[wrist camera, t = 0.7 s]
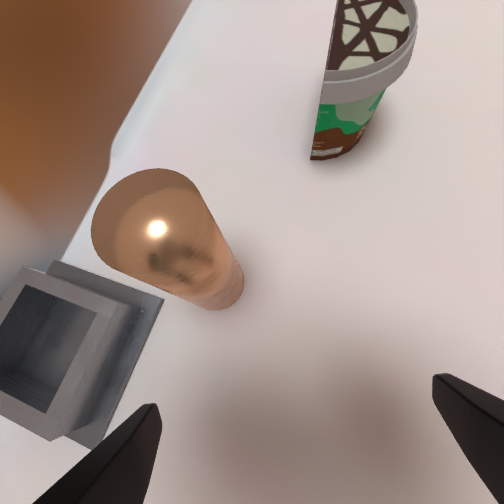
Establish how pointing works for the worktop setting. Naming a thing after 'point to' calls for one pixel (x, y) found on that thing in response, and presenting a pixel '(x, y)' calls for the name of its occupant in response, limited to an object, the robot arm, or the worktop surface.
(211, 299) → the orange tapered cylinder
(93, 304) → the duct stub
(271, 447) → the worktop surface
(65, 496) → the robot arm
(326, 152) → the food container
